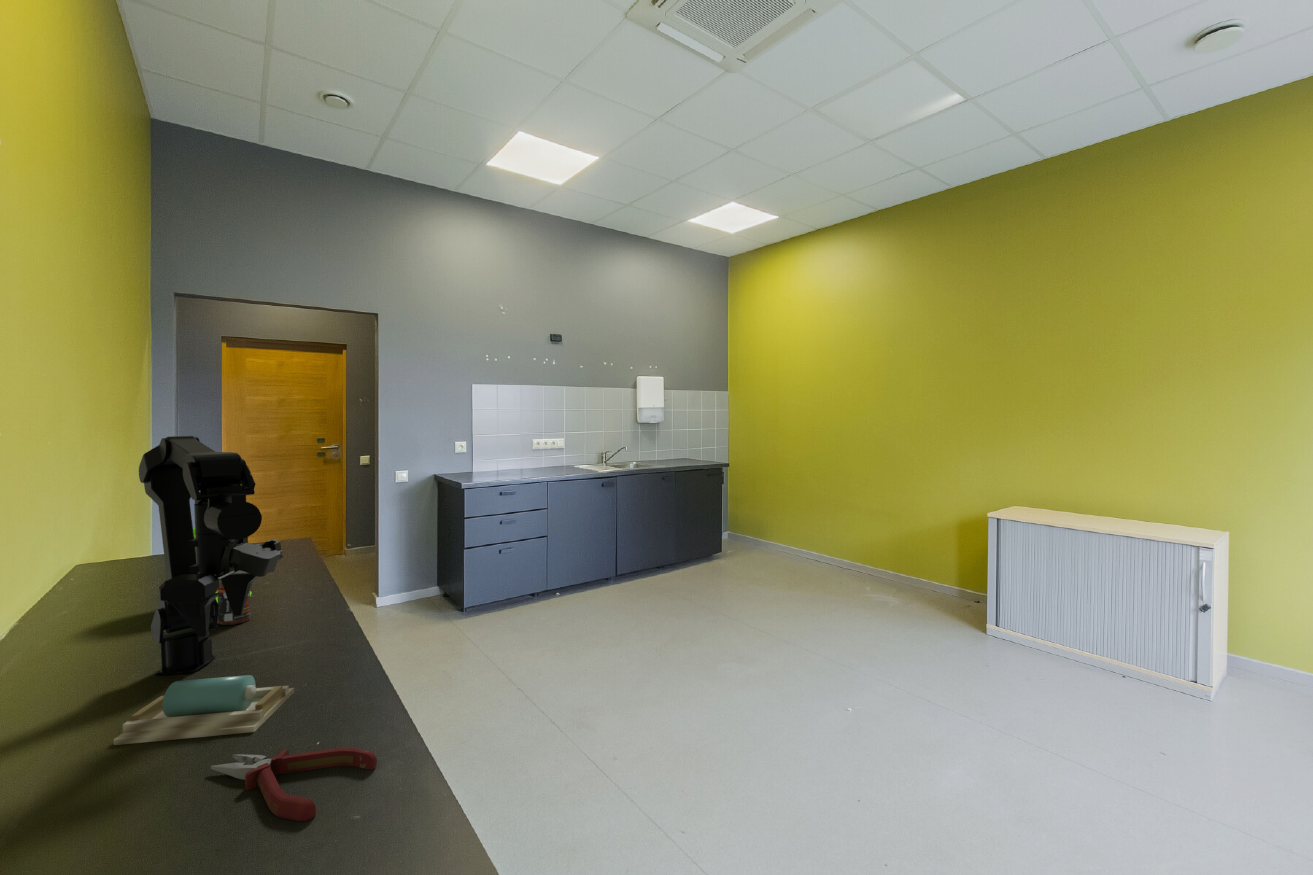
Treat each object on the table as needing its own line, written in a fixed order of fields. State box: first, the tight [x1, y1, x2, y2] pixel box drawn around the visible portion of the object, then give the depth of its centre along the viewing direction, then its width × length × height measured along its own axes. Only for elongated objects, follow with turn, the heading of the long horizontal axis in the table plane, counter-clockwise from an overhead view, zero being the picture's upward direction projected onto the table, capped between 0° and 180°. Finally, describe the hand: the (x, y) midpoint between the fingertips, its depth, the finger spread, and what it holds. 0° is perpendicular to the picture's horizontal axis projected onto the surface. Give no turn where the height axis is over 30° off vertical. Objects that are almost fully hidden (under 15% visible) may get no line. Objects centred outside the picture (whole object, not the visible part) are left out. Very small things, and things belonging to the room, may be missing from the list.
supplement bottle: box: [217, 582, 252, 626], centre depth 129 cm, size 6×6×11 cm
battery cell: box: [163, 674, 257, 717], centre depth 87 cm, size 11×5×5 cm, turn 99°
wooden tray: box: [113, 685, 295, 746], centre depth 87 cm, size 18×12×3 cm, turn 99°
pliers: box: [210, 747, 378, 822], centre depth 71 cm, size 12×20×3 cm, turn 74°
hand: (221, 625), depth 92 cm, fingers open, 9 cm apart
